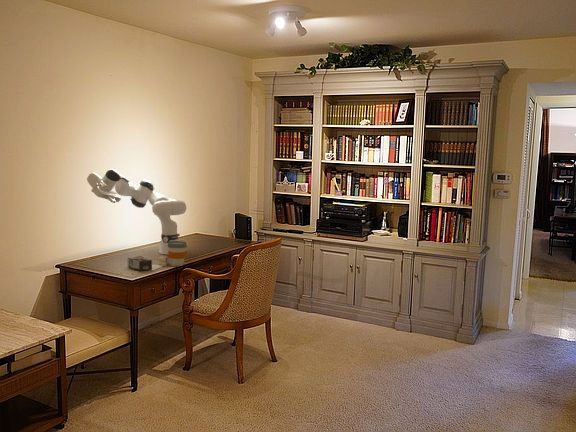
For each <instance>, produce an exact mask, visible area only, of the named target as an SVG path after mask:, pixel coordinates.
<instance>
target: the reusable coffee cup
mask: <svg viewBox="0 0 576 432" xmlns="http://www.w3.org/2000/svg"><path fill="white" fill-rule="evenodd" d="M167 255H168V256H167V257H168V260H169V265H170V266H172V267H182V266H184V264H185V259H186V255H187V242H186V241H183V240H180V241H171V242H168V254H167Z"/></svg>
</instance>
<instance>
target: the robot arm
mask: <svg viewBox="0 0 576 432" xmlns="http://www.w3.org/2000/svg"><path fill="white" fill-rule="evenodd" d="M86 181H87V183H88V184H89V186H90V188H91V192H92V194H94V195H95V196H96V197H98V198H101V199H103V200H104V199H105V200H108V201H109V202H111V203H112V204H116V203H119V202H120V201H121V200H122V198H121V197H122V196H123V197H130V198H129V200H130V202H131V204H132V205H133V206H134V207H136V208H138V209H139V208H140V209H141V208H142V209H143V208H145V207H146V206H147V202H149V204H150V205H151V206H152V207H151V209H152V210H151V211H152V212H153V215H155V216H156V217H157V218H158V219H159V221H160V224H161V234H160V238H161V240H159V250H157V252H158V253H159V254H161V255H168V242H171V241H181V240H180V239H179V237H180V235H181V233H178V223H177V222H176V221H174V220H173V219H172V218H171V216H180V215H184V214H185V213H186V211H187V204H186V202H185V201H183V200H178V199H174V198H171V197H167V196H165V195H164V194H161V193H159V192H156V191H154V190H155V188H154V184H153V182H151V181H150V180H147V179H141V180H140V181H139V182H138V185H137V186H136V185H135V184H134V183H132V182H131V181H130V180H129V178H128V177H127V176H125V175H123V174H122V173H120V172H119V171H117V170H116V169H113V168H110V169H108V170H107V171H106V172H105V174H104V175H103V177H101V176H100V175H98V174H97V173H96V172H91V173H89V174H88V176H87V178H86ZM113 189H114V190H115V191H112V190H113Z"/></svg>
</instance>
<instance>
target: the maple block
mask: <svg viewBox="0 0 576 432" xmlns="http://www.w3.org/2000/svg"><path fill="white" fill-rule="evenodd" d="M157 265H163V266H167V265H168V256H159V257H158V258H157Z"/></svg>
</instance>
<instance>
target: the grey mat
mask: <svg viewBox="0 0 576 432" xmlns="http://www.w3.org/2000/svg"><path fill="white" fill-rule="evenodd" d="M162 267H164V265H158V264H153V263H152V269H151V270H150V271H155V270H158V269H160V268H162Z"/></svg>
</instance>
